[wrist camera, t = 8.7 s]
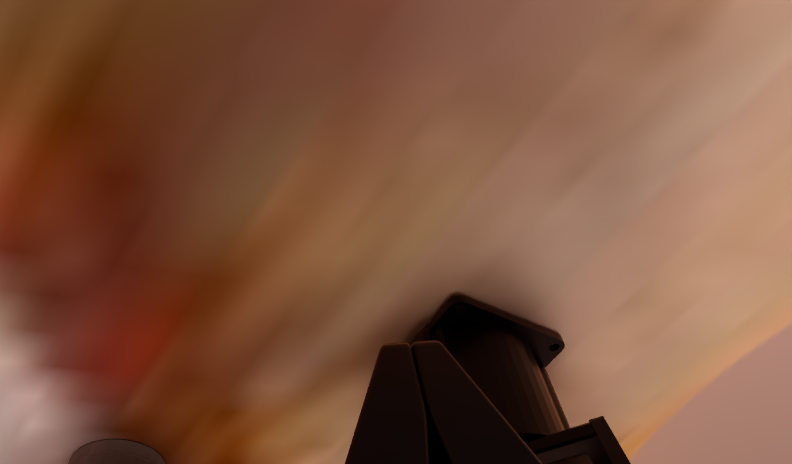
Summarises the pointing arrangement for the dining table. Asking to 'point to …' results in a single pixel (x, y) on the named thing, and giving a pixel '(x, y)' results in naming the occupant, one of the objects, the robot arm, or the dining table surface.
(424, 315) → the dining table surface
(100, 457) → the beverage cup
